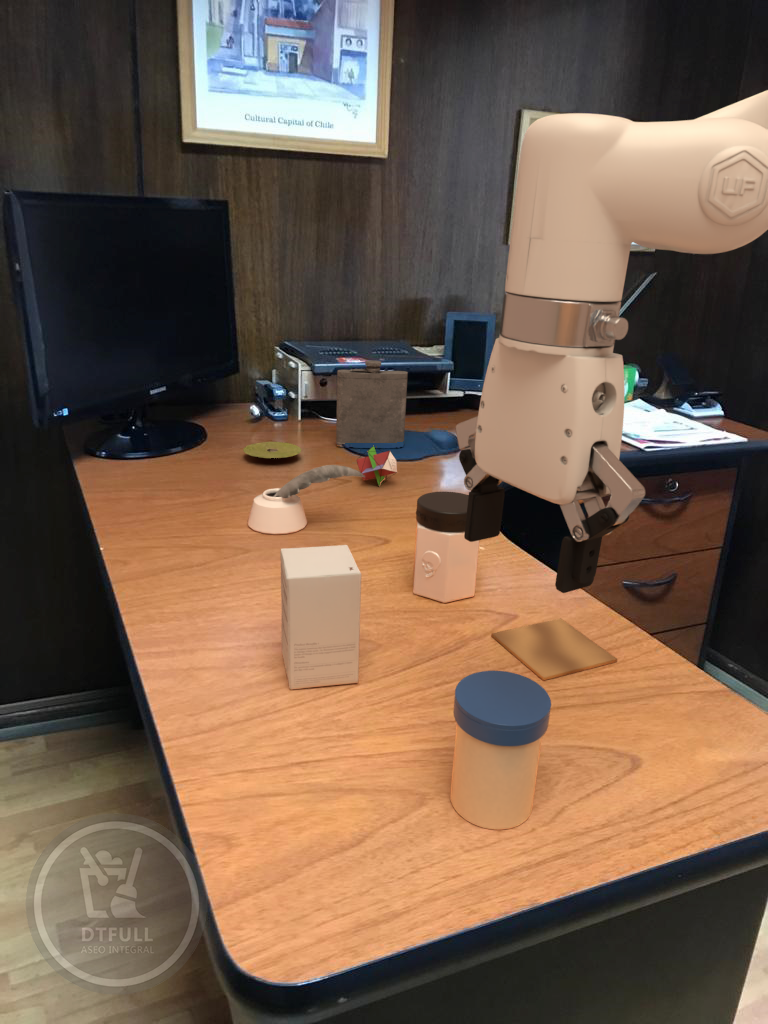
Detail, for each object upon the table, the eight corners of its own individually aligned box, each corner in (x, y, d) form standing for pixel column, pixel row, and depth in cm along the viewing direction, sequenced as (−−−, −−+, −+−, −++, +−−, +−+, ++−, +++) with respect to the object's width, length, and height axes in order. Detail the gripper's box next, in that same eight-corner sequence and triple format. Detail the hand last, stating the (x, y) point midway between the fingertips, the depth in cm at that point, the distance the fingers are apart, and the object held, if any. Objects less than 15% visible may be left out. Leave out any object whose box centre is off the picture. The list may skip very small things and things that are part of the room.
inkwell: (251, 512, 124) (250, 452, 120) (363, 515, 124) (365, 456, 121) (243, 534, 115) (241, 470, 111) (364, 537, 116) (366, 474, 112)
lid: (513, 682, 66) (515, 662, 65) (568, 732, 60) (572, 711, 59) (436, 701, 63) (437, 681, 62) (486, 756, 56) (488, 735, 56)
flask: (405, 449, 162) (409, 363, 155) (336, 448, 160) (338, 361, 153) (402, 444, 165) (407, 360, 159) (335, 444, 163) (337, 358, 157)
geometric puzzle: (342, 473, 138) (369, 441, 134) (354, 462, 144) (380, 432, 140) (372, 500, 138) (400, 469, 134) (382, 488, 144) (409, 458, 141)
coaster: (560, 620, 94) (560, 618, 94) (617, 661, 85) (617, 658, 85) (491, 636, 90) (491, 633, 89) (543, 680, 81) (543, 677, 81)
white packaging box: (347, 647, 86) (349, 543, 81) (359, 685, 79) (363, 573, 75) (280, 653, 84) (279, 546, 80) (286, 691, 77) (286, 577, 73)
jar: (397, 590, 100) (402, 503, 95) (427, 568, 106) (433, 486, 102) (459, 609, 95) (467, 518, 91) (487, 585, 102) (495, 500, 98)
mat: (312, 456, 154) (312, 447, 153) (279, 470, 144) (279, 460, 144) (265, 447, 159) (265, 438, 158) (231, 460, 149) (231, 451, 148)
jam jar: (502, 764, 68) (513, 670, 65) (549, 815, 63) (564, 715, 59) (435, 784, 65) (443, 688, 62) (478, 840, 60) (489, 737, 56)
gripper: (706, 344, 46) (653, 599, 52) (510, 308, 60) (486, 515, 66) (624, 348, 42) (577, 624, 48) (433, 309, 56) (414, 529, 62)
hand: (524, 561), depth 57 cm, fingers open, 9 cm apart
